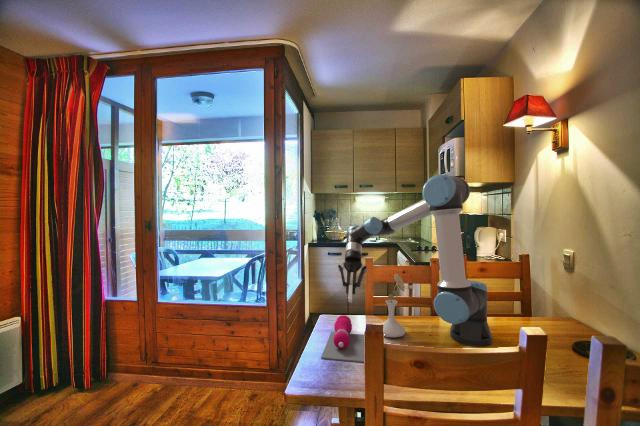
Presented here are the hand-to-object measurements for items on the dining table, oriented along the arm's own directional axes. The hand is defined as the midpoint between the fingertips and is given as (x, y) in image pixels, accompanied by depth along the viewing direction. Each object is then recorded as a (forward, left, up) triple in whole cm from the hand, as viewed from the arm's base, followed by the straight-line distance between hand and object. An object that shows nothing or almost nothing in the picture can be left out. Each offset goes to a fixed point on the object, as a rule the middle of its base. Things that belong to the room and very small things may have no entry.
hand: (349, 300), depth 125 cm
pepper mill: (+4, -2, -10) cm, 11 cm away
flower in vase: (-15, -9, -14) cm, 23 cm away
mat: (-3, +10, -14) cm, 18 cm away
